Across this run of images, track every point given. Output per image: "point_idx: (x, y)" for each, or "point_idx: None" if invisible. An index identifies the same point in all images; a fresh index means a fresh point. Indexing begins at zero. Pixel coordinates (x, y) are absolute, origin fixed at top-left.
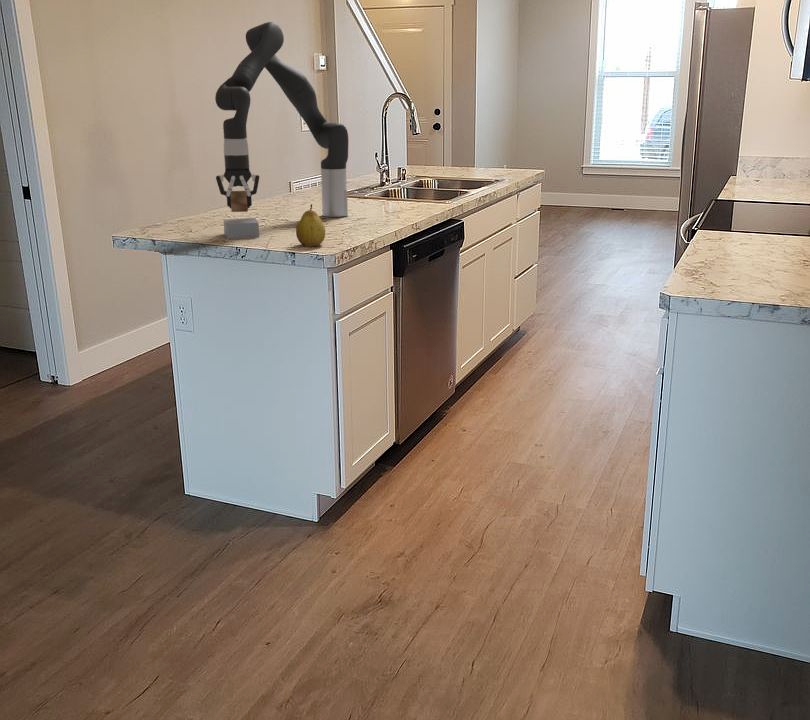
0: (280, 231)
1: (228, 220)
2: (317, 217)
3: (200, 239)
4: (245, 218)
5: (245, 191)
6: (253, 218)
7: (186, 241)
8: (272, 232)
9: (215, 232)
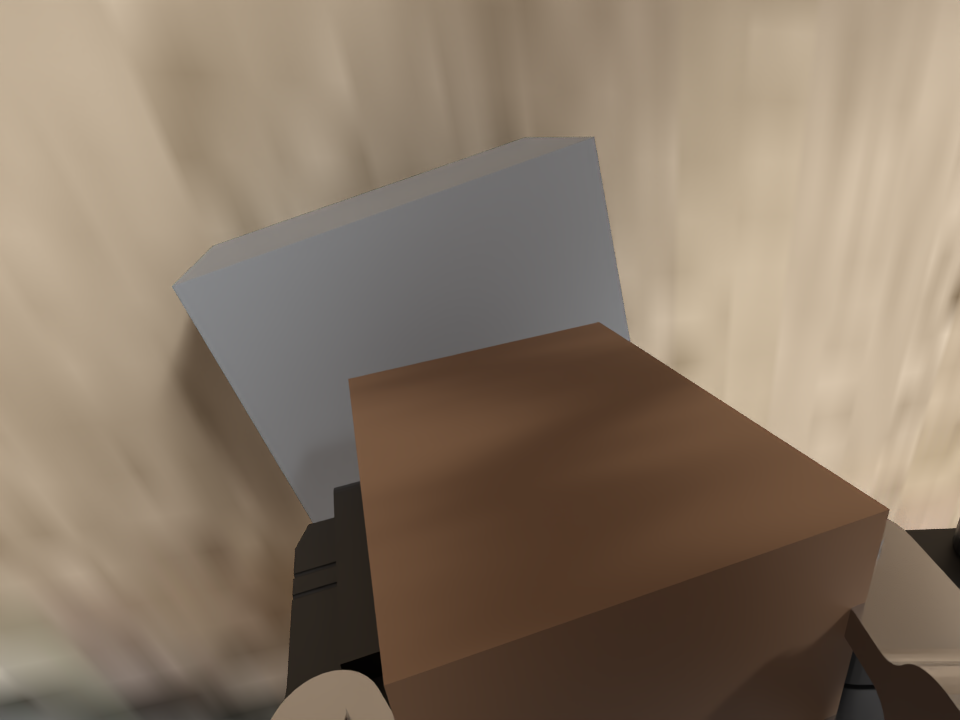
0: (749, 87)
1: (291, 376)
2: None
3: (103, 562)
4: (481, 186)
5: (823, 657)
6: (586, 188)
7: (17, 659)
8: (680, 150)
9: (37, 140)
